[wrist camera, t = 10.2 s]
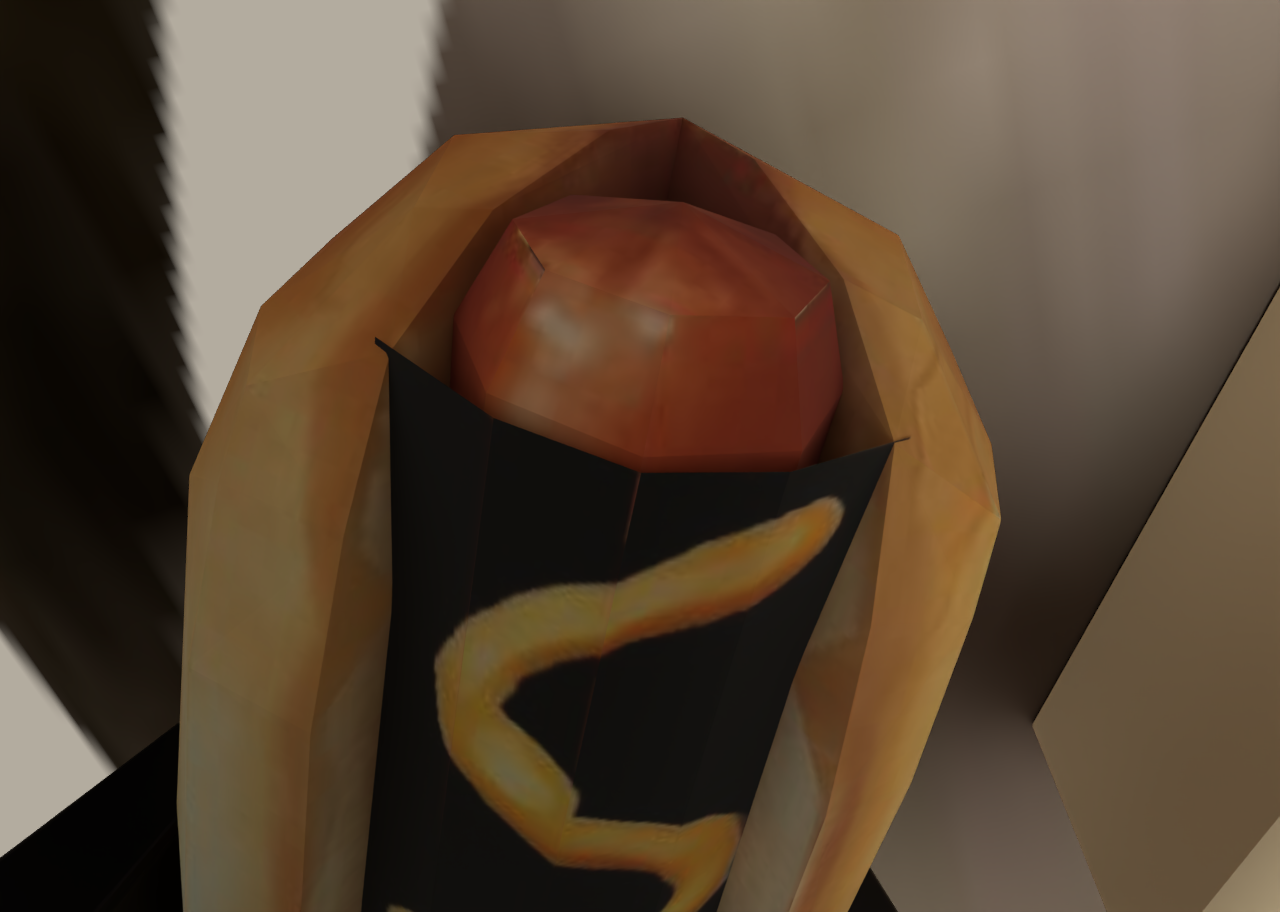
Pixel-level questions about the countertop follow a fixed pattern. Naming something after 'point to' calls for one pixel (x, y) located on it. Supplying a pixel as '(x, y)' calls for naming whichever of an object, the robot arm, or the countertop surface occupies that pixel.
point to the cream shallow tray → (1187, 677)
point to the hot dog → (576, 545)
